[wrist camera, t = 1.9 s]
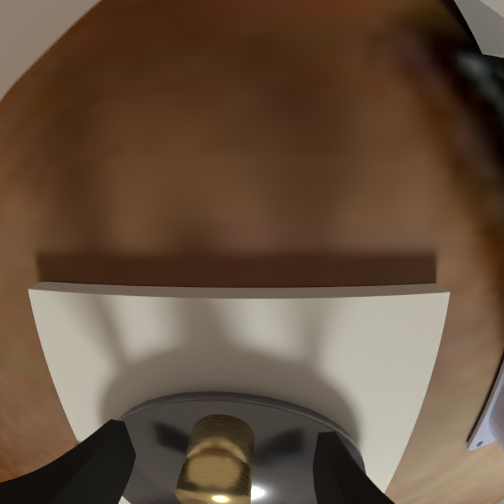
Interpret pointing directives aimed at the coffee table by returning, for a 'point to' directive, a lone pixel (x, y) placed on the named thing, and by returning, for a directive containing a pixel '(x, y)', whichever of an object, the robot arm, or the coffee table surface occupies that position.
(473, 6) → the die
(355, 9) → the coffee table surface
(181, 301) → the wheel base
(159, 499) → the handwheel
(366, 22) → the coffee table surface
